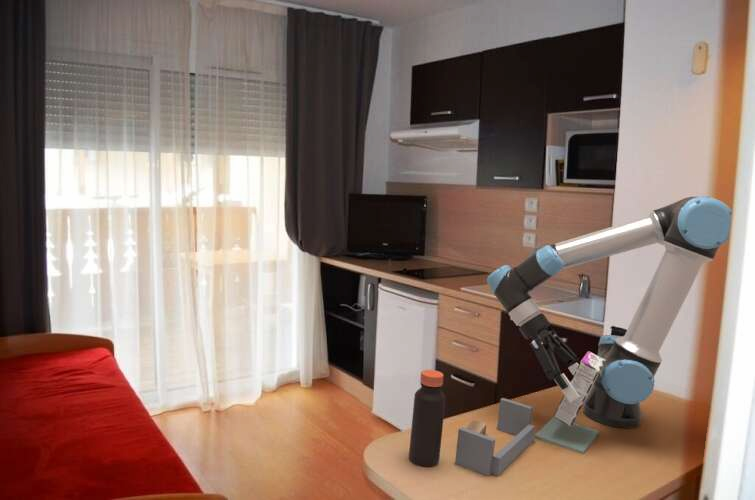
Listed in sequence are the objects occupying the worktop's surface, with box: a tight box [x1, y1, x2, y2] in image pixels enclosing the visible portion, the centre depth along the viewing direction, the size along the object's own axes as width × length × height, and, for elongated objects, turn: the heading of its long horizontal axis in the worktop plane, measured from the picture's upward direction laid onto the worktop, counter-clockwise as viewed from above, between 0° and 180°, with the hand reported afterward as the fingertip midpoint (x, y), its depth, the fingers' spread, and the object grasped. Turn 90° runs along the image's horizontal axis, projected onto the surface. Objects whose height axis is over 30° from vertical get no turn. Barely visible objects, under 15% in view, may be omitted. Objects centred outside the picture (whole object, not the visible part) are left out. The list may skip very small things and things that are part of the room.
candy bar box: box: [553, 351, 606, 427], centre depth 141 cm, size 11×5×16 cm, turn 151°
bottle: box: [408, 369, 447, 467], centre depth 124 cm, size 7×7×20 cm
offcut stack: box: [465, 419, 488, 436], centre depth 133 cm, size 4×8×5 cm, turn 153°
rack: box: [454, 397, 536, 477], centre depth 132 cm, size 10×25×8 cm, turn 145°
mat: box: [534, 416, 600, 455], centre depth 144 cm, size 12×15×1 cm
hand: (581, 392), depth 141 cm, fingers closed on candy bar box, 11 cm apart
